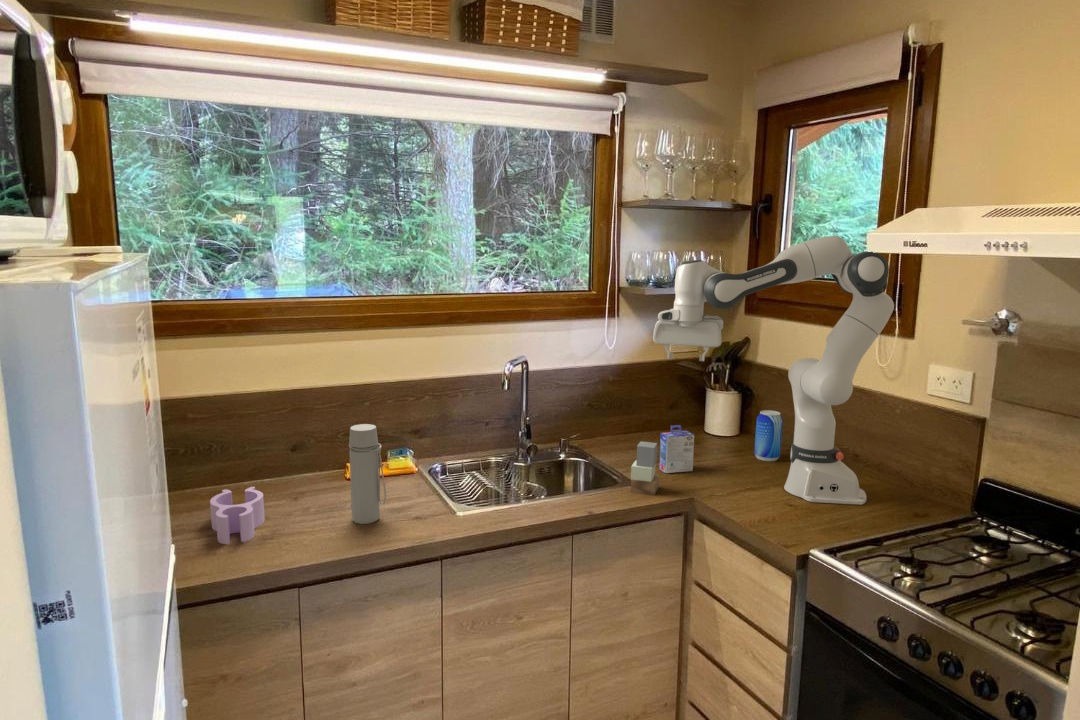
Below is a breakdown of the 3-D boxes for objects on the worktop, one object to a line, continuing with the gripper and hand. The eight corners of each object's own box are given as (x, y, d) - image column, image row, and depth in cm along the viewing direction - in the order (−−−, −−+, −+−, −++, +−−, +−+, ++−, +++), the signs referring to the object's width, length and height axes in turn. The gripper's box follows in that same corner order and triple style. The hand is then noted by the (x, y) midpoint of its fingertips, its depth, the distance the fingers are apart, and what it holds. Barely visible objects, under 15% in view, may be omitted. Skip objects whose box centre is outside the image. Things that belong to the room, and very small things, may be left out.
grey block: (656, 462, 208) (657, 443, 207) (653, 467, 204) (654, 447, 203) (639, 460, 210) (640, 441, 209) (636, 465, 205) (637, 446, 204)
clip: (263, 540, 171) (261, 513, 169) (206, 547, 166) (204, 519, 165) (265, 510, 189) (264, 485, 188) (214, 515, 185) (213, 490, 184)
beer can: (748, 456, 241) (751, 410, 238) (767, 453, 245) (770, 408, 242) (766, 463, 234) (769, 416, 231) (785, 460, 237) (788, 414, 234)
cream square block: (654, 475, 209) (655, 462, 208) (651, 481, 204) (651, 468, 203) (635, 472, 211) (635, 460, 210) (630, 479, 206) (631, 466, 205)
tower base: (658, 488, 210) (659, 475, 209) (654, 496, 203) (655, 482, 203) (635, 485, 212) (635, 472, 212) (630, 492, 206) (631, 479, 205)
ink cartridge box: (685, 466, 230) (687, 423, 227) (693, 471, 225) (696, 427, 222) (658, 468, 227) (660, 425, 224) (665, 474, 222) (667, 429, 219)
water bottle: (346, 525, 180) (342, 430, 175) (358, 513, 187) (355, 422, 183) (380, 527, 178) (378, 432, 174) (391, 515, 186) (389, 424, 182)
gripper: (724, 315, 210) (721, 360, 213) (656, 311, 216) (654, 356, 219) (723, 317, 205) (720, 363, 207) (653, 313, 211) (651, 359, 213)
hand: (685, 359), depth 213 cm, fingers open, 8 cm apart
